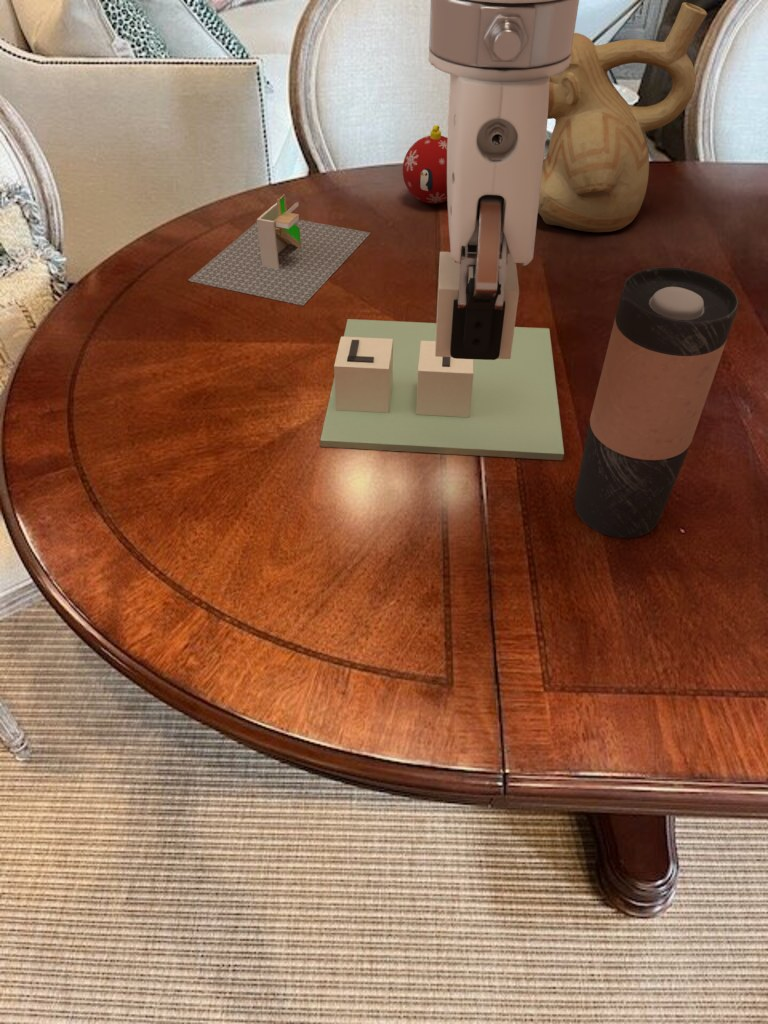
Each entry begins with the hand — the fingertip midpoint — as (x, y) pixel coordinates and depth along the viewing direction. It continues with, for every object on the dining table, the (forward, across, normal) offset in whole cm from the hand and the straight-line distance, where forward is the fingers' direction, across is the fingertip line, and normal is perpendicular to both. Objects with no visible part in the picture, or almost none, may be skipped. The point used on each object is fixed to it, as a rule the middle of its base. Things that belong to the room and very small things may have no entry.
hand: (473, 330), depth 53 cm
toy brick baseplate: (+18, +44, +22) cm, 52 cm away
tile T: (+1, 0, 0) cm, 1 cm away
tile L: (+17, +15, +9) cm, 24 cm away
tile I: (+17, +14, +1) cm, 22 cm away
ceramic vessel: (+18, +58, -18) cm, 64 cm away
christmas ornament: (+18, +62, +3) cm, 64 cm away
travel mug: (+18, +1, -13) cm, 22 cm away
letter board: (+17, +18, +1) cm, 25 cm away
